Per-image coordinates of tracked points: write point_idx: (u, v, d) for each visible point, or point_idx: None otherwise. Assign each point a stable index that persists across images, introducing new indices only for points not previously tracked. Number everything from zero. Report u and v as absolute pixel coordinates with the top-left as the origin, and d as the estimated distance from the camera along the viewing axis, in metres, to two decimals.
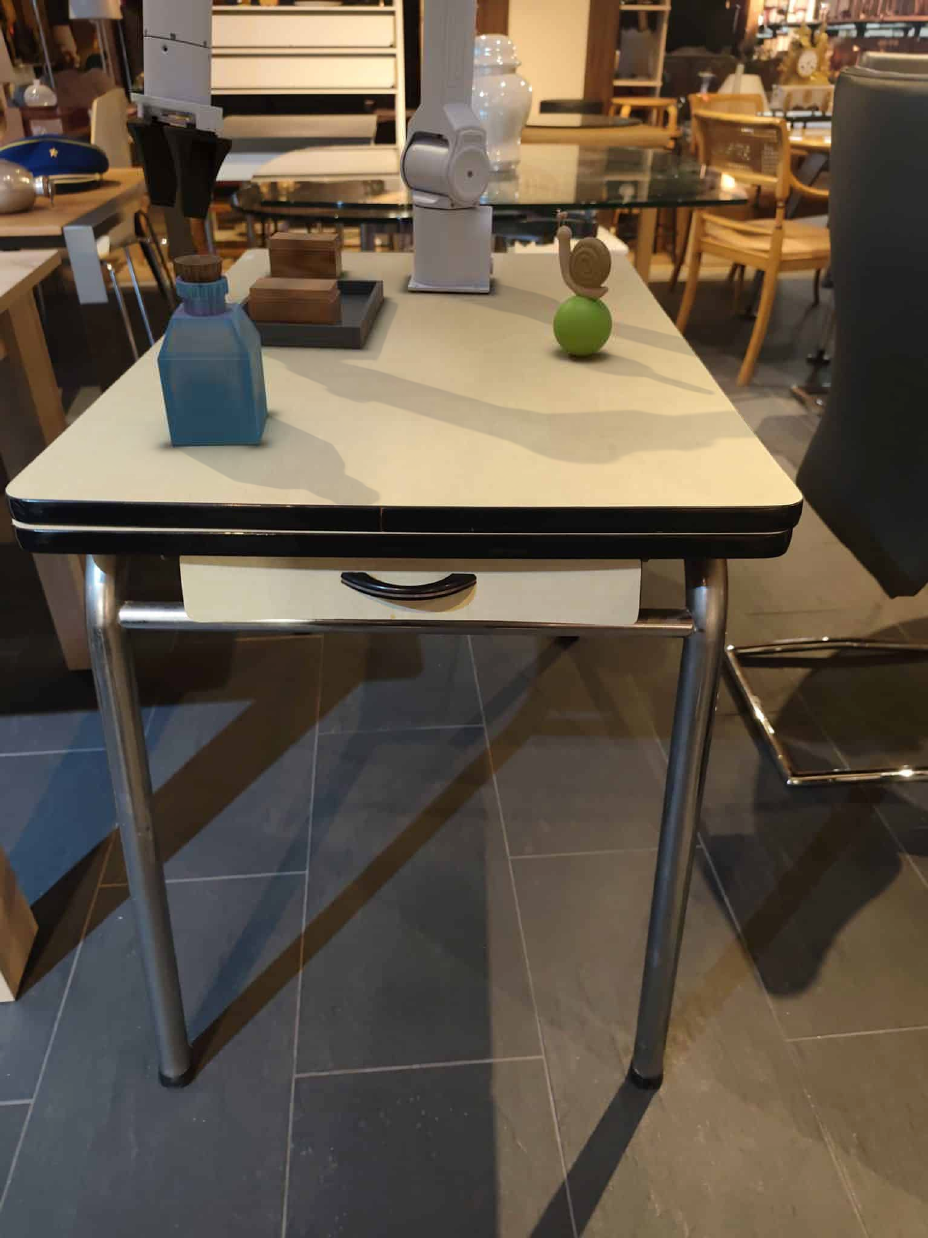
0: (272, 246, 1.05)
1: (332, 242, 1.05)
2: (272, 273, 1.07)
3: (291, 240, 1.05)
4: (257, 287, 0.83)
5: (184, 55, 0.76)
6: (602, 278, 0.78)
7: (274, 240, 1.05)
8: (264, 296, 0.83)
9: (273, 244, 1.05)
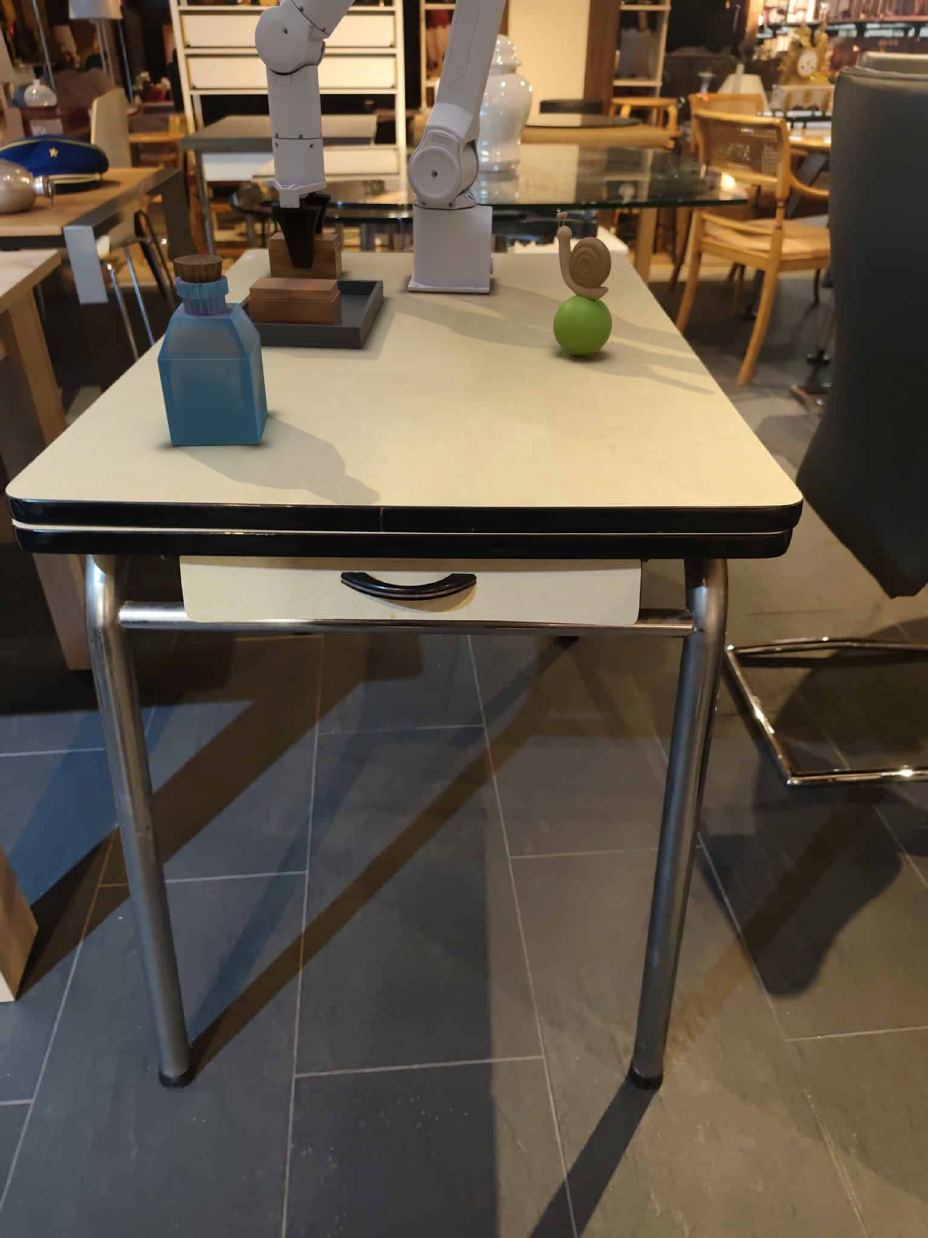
0: (272, 246, 1.05)
1: (332, 242, 1.05)
2: (272, 273, 1.07)
3: None
4: (257, 287, 0.83)
5: (287, 148, 0.99)
6: (602, 278, 0.78)
7: (274, 240, 1.05)
8: (264, 296, 0.83)
9: (273, 244, 1.05)
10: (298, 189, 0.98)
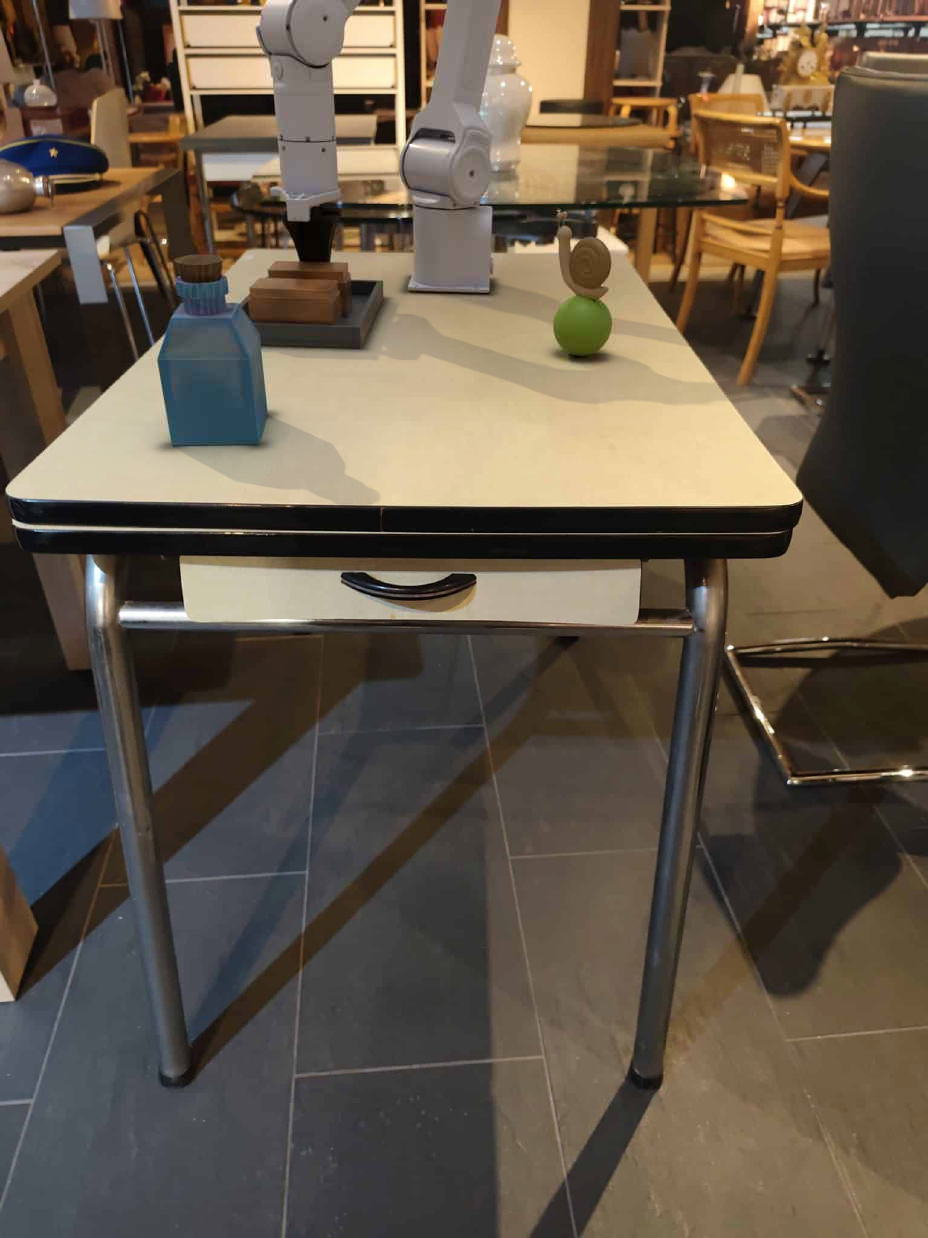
0: None
1: (342, 273, 0.89)
2: None
3: (293, 271, 0.89)
4: (257, 287, 0.83)
5: (296, 153, 0.86)
6: (602, 278, 0.78)
7: (274, 272, 0.89)
8: (264, 296, 0.83)
9: (272, 276, 0.89)
10: (308, 200, 0.84)
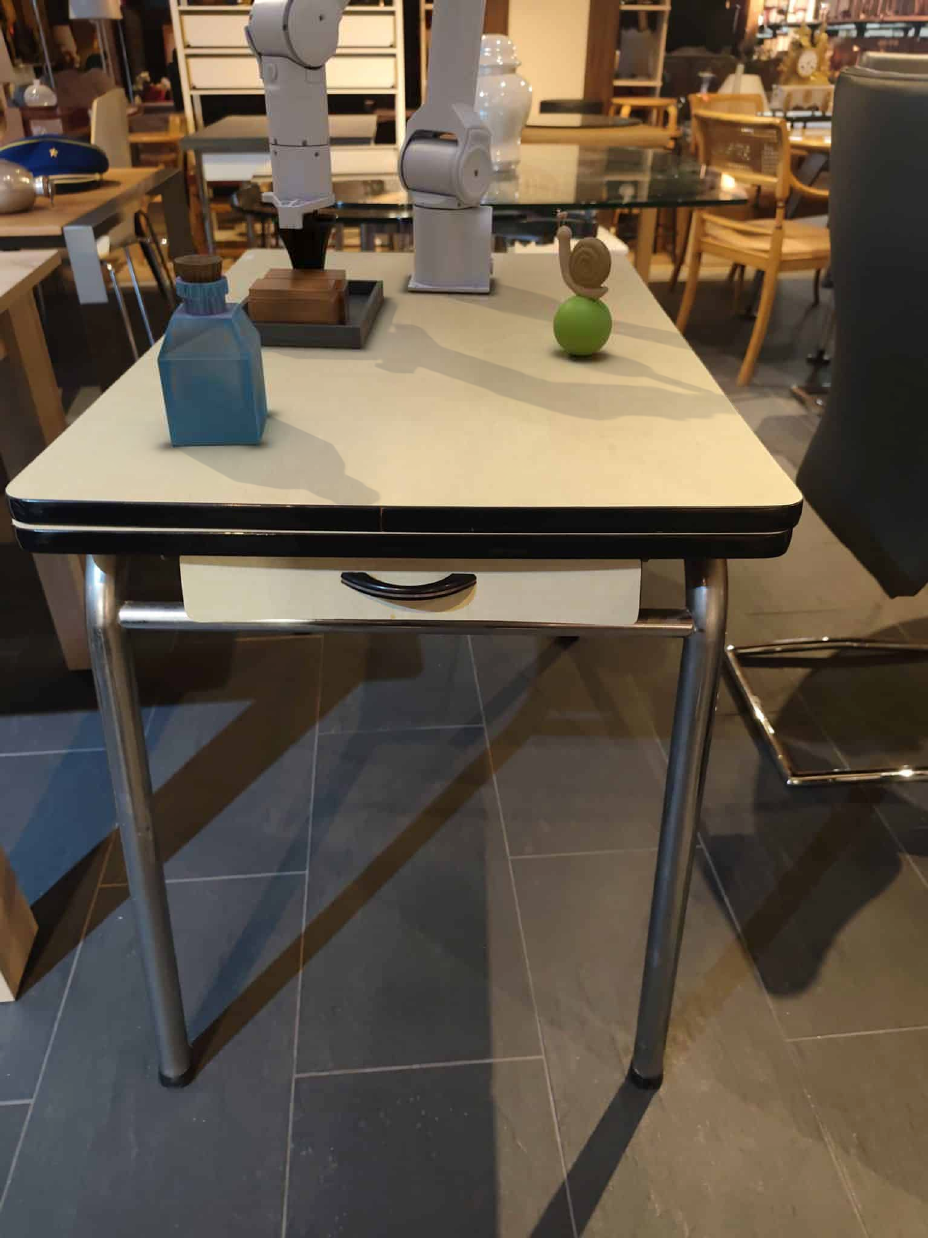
0: None
1: (340, 281, 0.86)
2: None
3: None
4: (256, 288, 0.82)
5: (288, 157, 0.82)
6: (602, 278, 0.78)
7: None
8: (264, 297, 0.82)
9: None
10: (301, 206, 0.81)
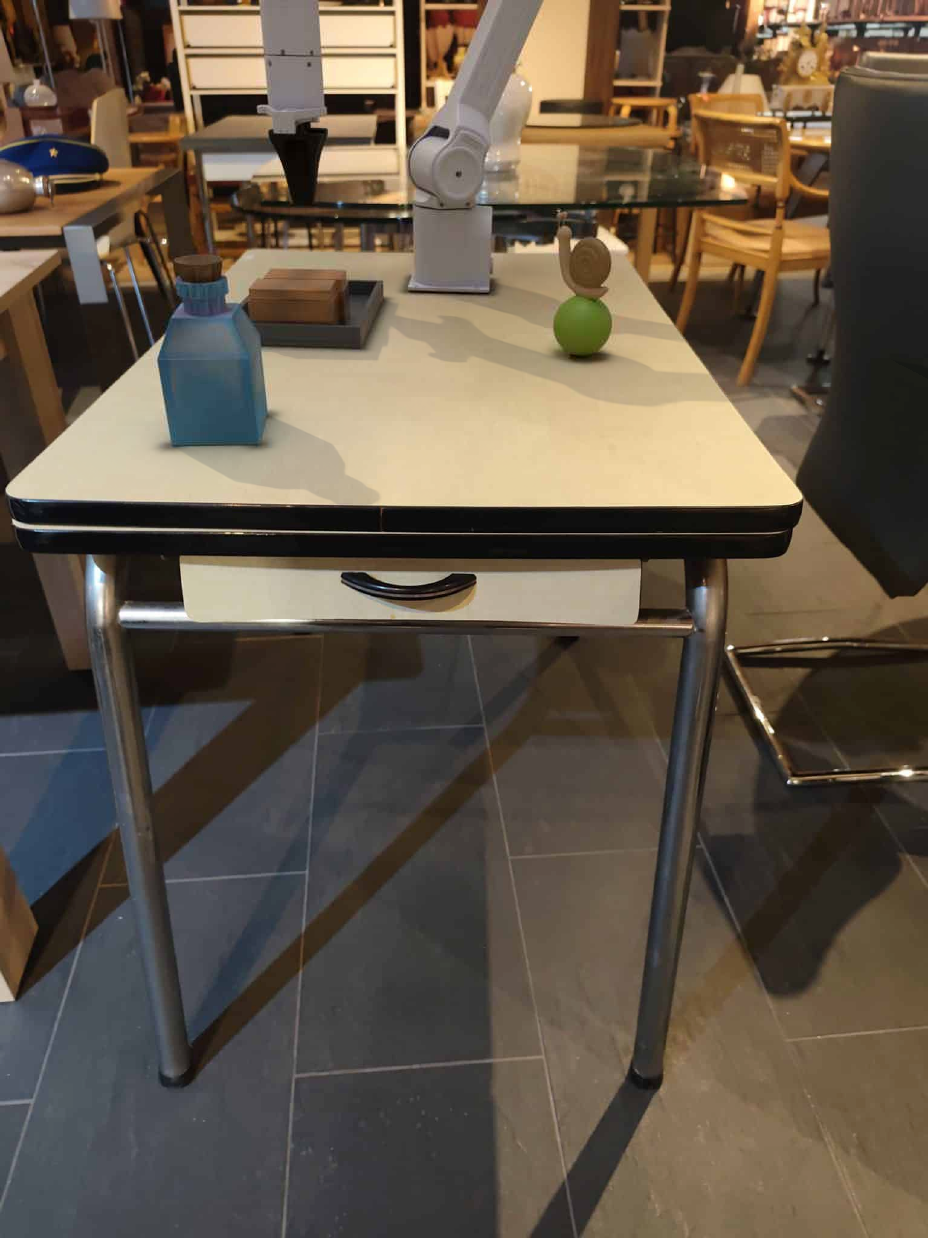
0: None
1: (340, 281, 0.86)
2: None
3: None
4: (256, 288, 0.82)
5: (282, 67, 0.87)
6: (602, 278, 0.78)
7: None
8: (264, 297, 0.82)
9: None
10: (294, 112, 0.86)
